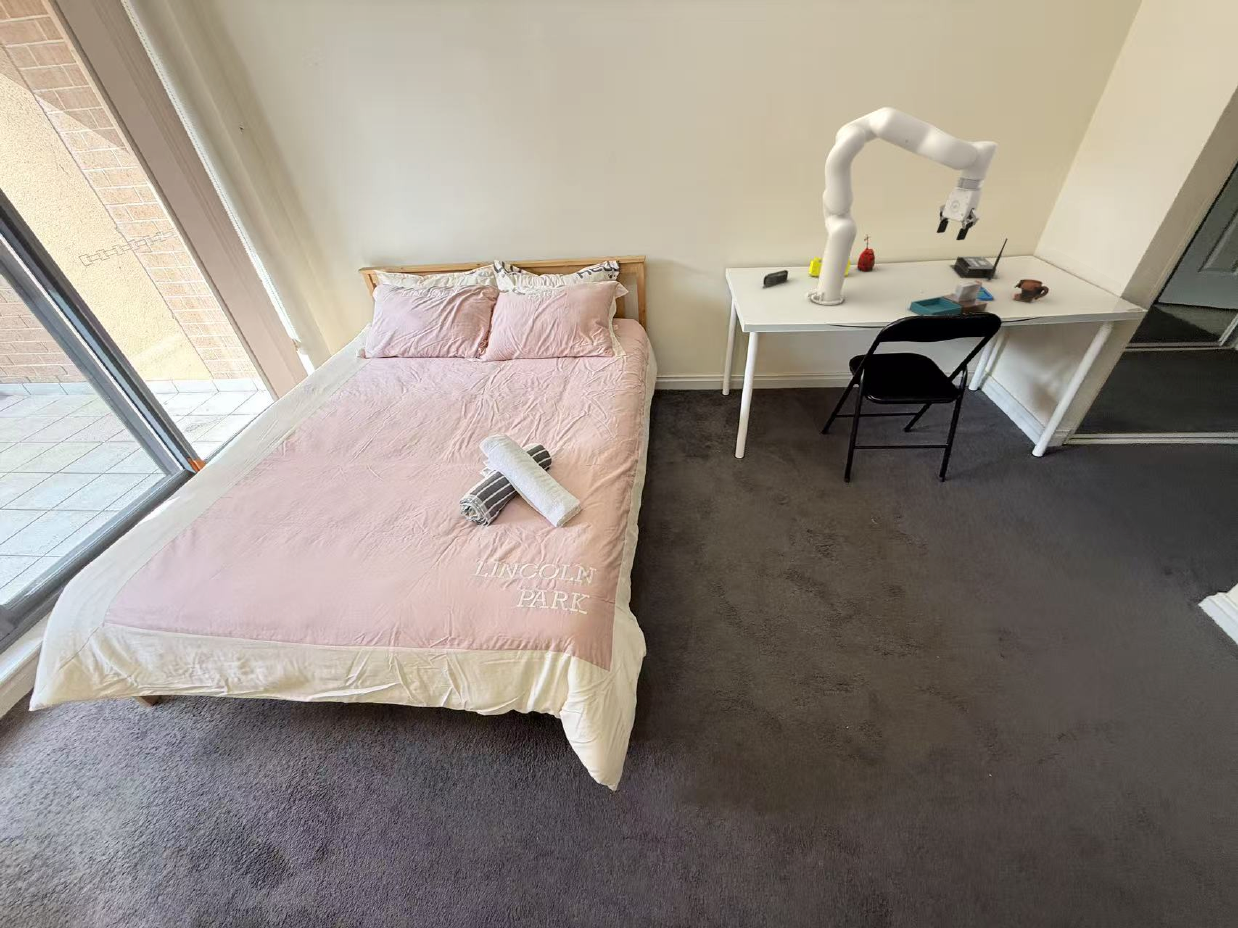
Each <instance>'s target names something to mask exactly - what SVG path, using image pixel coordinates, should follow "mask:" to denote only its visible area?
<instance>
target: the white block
mask: <svg viewBox="0 0 1238 928" xmlns="http://www.w3.org/2000/svg"><path fill="white" fill-rule="evenodd" d="M983 284H984V283H983V282H982V281H980V280H975V281H970V282H964V283H959V284H958V285H957V287H956V289H955V292H954V294H955V295H954V297H953V300H954V301H956V302H961V301H967V300H972V299H976V298H977V296H978V293H979V291H980V289H981V286H982V287H983Z"/></svg>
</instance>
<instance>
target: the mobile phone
mask: <svg viewBox="0 0 1238 928" xmlns="http://www.w3.org/2000/svg"><path fill="white" fill-rule="evenodd" d="M788 276H789V270H787V269H784V270H779V271H775V272H770V273H767V274H766V275H764V277H763V280H762V281H763V282H762V285H763V286H762V289H764V288H767V287H771V286H774V285H778V284H779V285H780V284H783V283H786V282H787V281H788Z"/></svg>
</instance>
